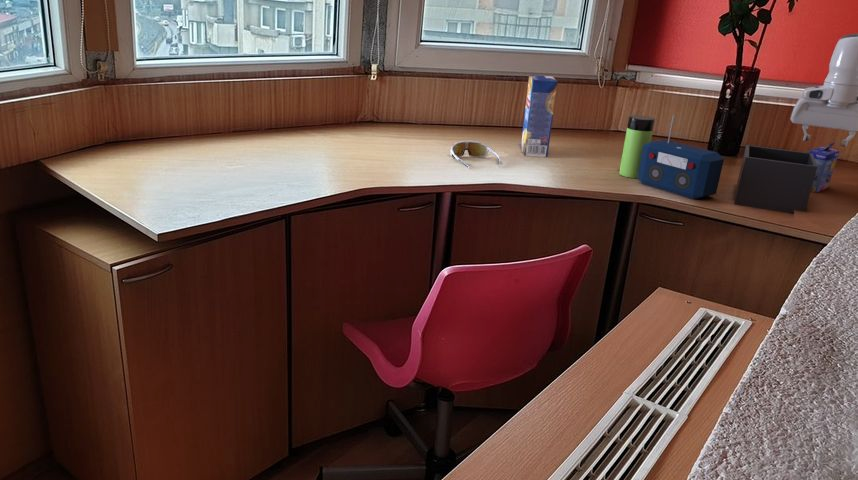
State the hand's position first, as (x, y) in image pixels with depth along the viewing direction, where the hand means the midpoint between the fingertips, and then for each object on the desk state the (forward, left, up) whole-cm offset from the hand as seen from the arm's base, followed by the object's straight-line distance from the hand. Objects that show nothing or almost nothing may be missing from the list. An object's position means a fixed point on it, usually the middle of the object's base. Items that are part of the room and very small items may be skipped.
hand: (824, 143), depth 203 cm
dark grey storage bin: (+12, +20, -14) cm, 27 cm away
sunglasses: (+94, +28, -14) cm, 99 cm away
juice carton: (+82, +3, -14) cm, 83 cm away
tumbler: (+49, +14, -14) cm, 53 cm away
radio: (+36, +24, -14) cm, 45 cm away
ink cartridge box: (0, 0, -14) cm, 14 cm away
